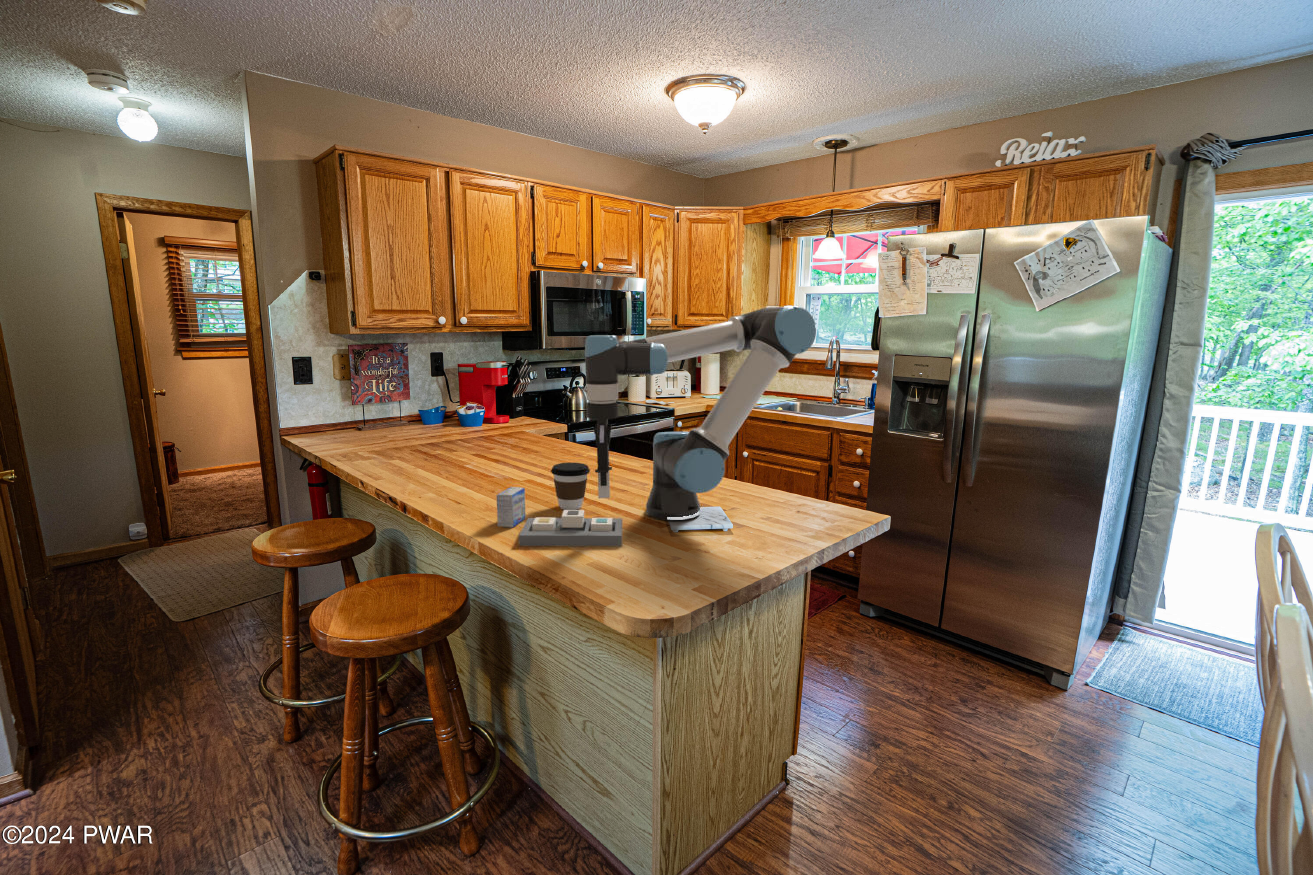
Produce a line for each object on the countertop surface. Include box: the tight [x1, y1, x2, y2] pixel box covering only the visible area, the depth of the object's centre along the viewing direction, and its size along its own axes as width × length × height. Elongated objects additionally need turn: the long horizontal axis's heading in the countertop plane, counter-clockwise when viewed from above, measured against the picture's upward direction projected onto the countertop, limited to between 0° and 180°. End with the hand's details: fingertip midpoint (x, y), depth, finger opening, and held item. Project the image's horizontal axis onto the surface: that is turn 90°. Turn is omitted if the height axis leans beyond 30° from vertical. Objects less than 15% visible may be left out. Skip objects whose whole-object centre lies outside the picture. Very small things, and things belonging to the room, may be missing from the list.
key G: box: [532, 516, 557, 531], centre depth 145 cm, size 5×5×3 cm
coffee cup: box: [550, 462, 591, 511], centre depth 169 cm, size 11×11×12 cm
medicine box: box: [496, 486, 526, 529], centre depth 154 cm, size 8×4×9 cm, turn 168°
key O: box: [591, 517, 613, 531], centre depth 146 cm, size 5×5×3 cm
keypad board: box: [518, 517, 623, 547], centre depth 145 cm, size 24×13×3 cm, turn 93°
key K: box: [561, 509, 585, 528], centre depth 145 cm, size 5×5×3 cm
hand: (604, 497), depth 144 cm, fingers closed
